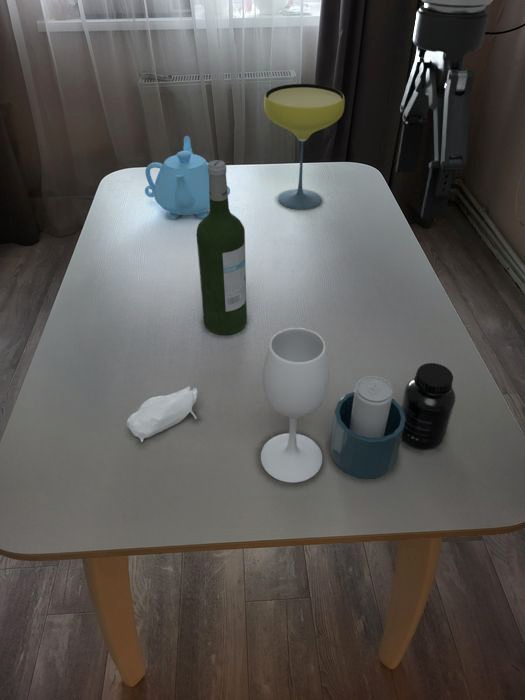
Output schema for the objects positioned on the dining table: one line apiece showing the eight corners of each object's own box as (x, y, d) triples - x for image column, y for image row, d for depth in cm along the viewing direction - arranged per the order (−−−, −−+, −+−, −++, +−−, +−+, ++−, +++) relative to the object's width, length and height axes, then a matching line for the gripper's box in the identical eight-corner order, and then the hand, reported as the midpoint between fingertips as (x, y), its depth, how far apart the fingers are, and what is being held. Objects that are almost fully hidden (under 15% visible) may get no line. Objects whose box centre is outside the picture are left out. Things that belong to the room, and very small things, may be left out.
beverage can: (387, 451, 78) (401, 391, 71) (362, 467, 76) (373, 407, 69) (364, 430, 82) (375, 370, 74) (339, 444, 79) (347, 384, 72)
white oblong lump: (178, 405, 88) (120, 423, 82) (187, 375, 84) (127, 392, 78) (194, 428, 86) (135, 448, 80) (204, 399, 82) (143, 418, 75)
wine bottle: (217, 305, 106) (207, 149, 87) (254, 316, 104) (252, 158, 84) (196, 328, 101) (179, 168, 81) (234, 340, 98) (227, 178, 79)
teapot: (183, 234, 127) (177, 175, 118) (138, 204, 138) (129, 148, 129) (238, 212, 135) (237, 155, 126) (191, 186, 146) (187, 132, 137)
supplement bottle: (407, 409, 86) (422, 350, 78) (450, 428, 83) (469, 369, 75) (388, 437, 81) (401, 378, 74) (432, 459, 78) (451, 399, 71)
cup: (408, 450, 80) (418, 412, 74) (371, 490, 74) (380, 453, 69) (355, 418, 84) (361, 380, 79) (317, 454, 79) (321, 416, 74)
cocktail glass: (282, 222, 131) (285, 112, 115) (252, 191, 144) (251, 89, 127) (349, 208, 137) (360, 101, 120) (314, 179, 149) (320, 79, 133)
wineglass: (329, 478, 76) (343, 365, 62) (266, 487, 75) (267, 373, 61) (314, 430, 82) (324, 318, 69) (256, 438, 81) (255, 325, 68)
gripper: (393, -13, 69) (371, 156, 83) (455, 31, 50) (413, 240, 64) (453, -14, 69) (421, 155, 83) (537, 30, 50) (478, 239, 64)
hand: (418, 192), depth 73 cm, fingers open, 13 cm apart
